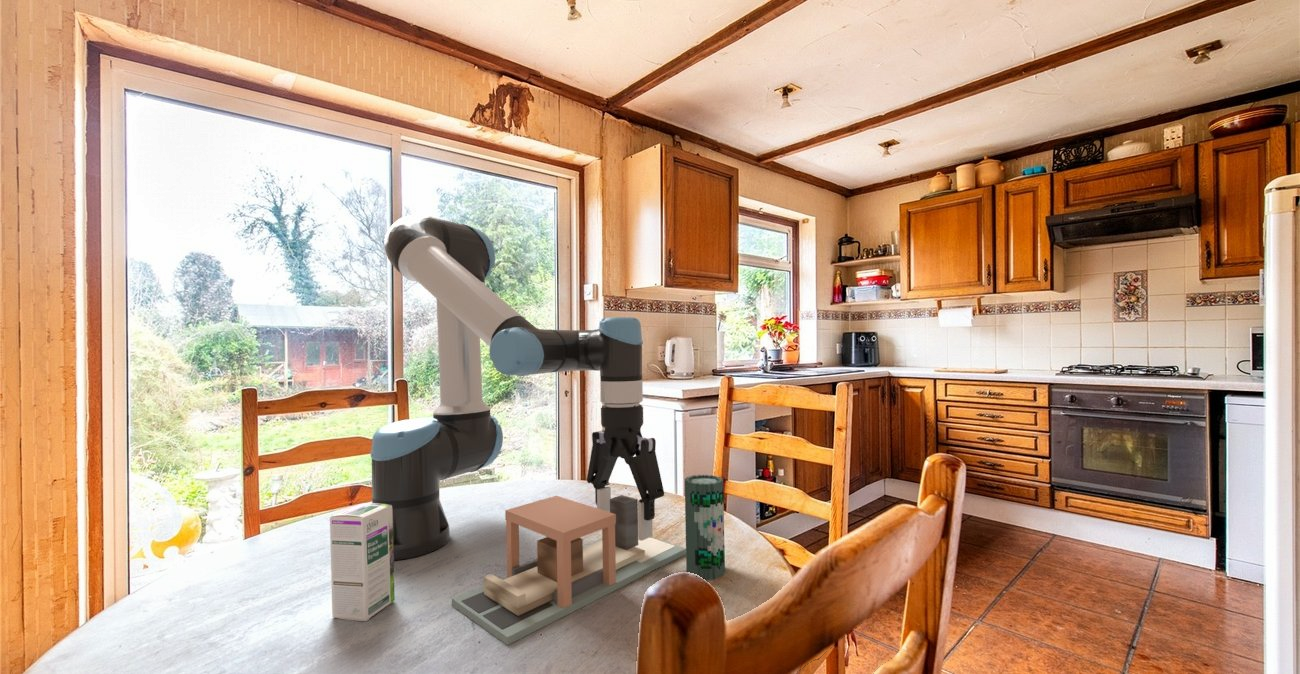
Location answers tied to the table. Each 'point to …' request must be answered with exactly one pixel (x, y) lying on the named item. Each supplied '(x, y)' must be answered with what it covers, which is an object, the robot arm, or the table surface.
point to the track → (561, 566)
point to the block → (549, 557)
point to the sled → (538, 589)
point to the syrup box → (362, 561)
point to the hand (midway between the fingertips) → (624, 530)
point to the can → (704, 526)
